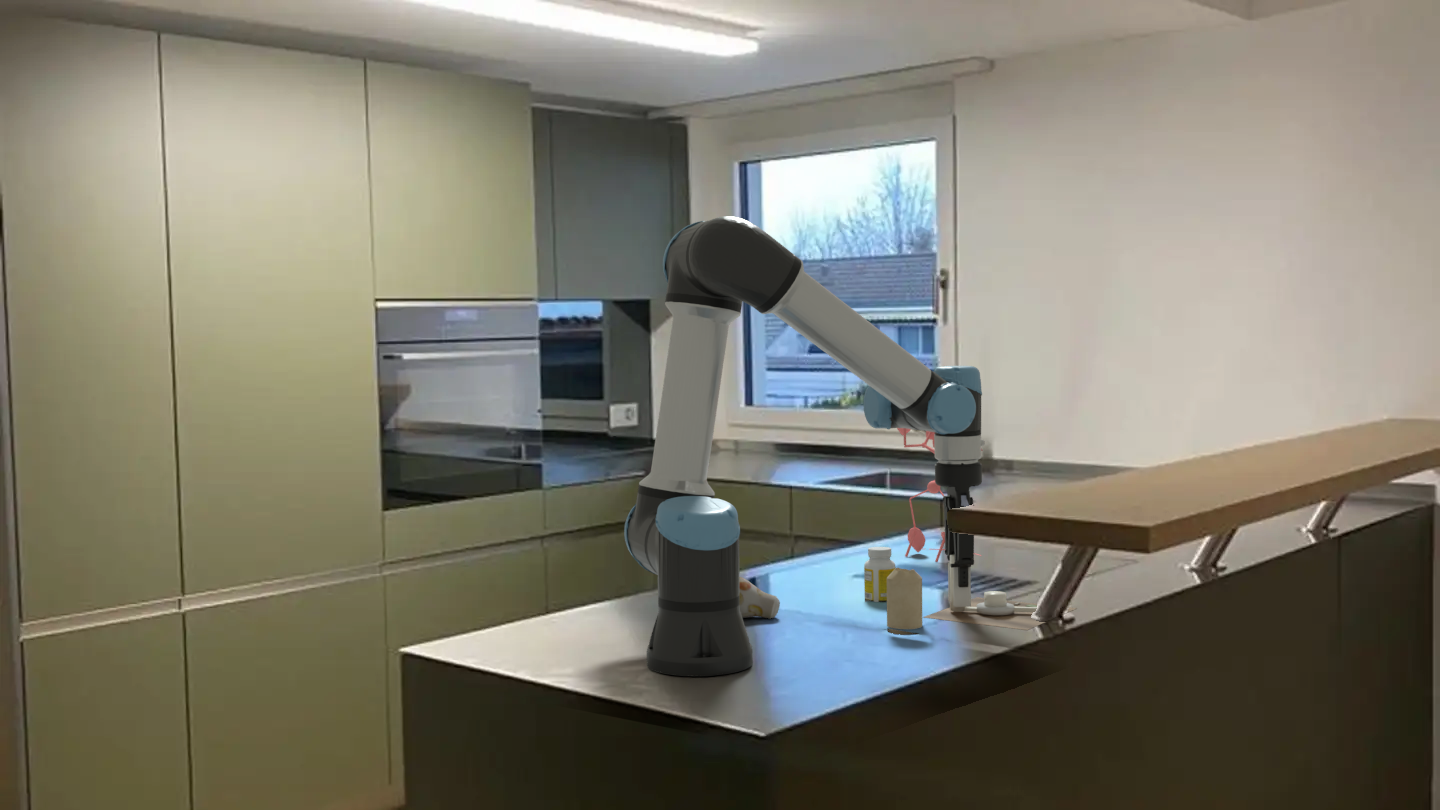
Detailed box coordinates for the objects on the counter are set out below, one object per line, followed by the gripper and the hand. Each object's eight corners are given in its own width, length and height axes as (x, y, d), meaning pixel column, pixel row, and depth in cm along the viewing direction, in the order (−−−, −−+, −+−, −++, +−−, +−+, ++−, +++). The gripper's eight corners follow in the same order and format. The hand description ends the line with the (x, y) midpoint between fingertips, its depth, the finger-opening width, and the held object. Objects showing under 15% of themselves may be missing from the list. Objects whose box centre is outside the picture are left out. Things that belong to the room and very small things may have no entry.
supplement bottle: (900, 602, 242) (899, 546, 242) (890, 608, 237) (890, 551, 237) (870, 600, 245) (869, 545, 244) (860, 606, 240) (859, 549, 239)
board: (1027, 636, 214) (1027, 628, 214) (922, 623, 225) (922, 615, 225) (1077, 614, 230) (1077, 606, 230) (977, 602, 241) (977, 595, 241)
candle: (928, 630, 220) (928, 567, 219) (912, 636, 215) (912, 572, 215) (897, 626, 223) (896, 564, 222) (880, 633, 218) (880, 569, 218)
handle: (949, 614, 226) (949, 558, 225) (950, 606, 231) (950, 552, 231) (1043, 616, 223) (1043, 559, 222) (1041, 609, 229) (1041, 553, 228)
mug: (783, 624, 227) (753, 573, 226) (733, 647, 230) (702, 597, 228) (789, 604, 234) (760, 555, 233) (740, 626, 237) (711, 578, 235)
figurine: (962, 568, 276) (964, 391, 275) (876, 552, 297) (877, 388, 296) (1016, 561, 285) (1018, 390, 284) (929, 547, 306) (930, 387, 305)
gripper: (993, 466, 218) (994, 613, 220) (970, 454, 235) (971, 592, 236) (945, 467, 218) (946, 615, 220) (925, 456, 234) (927, 593, 236)
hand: (959, 603), depth 228 cm, fingers open, 3 cm apart
